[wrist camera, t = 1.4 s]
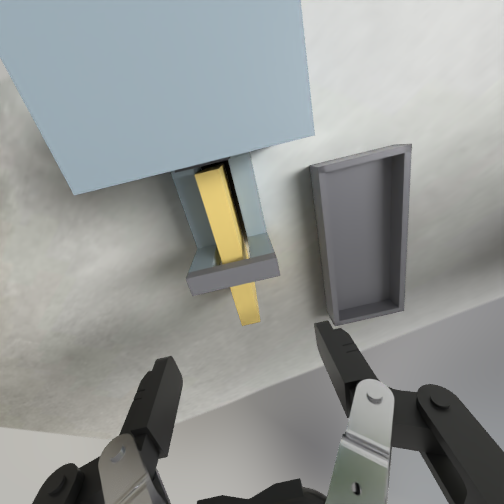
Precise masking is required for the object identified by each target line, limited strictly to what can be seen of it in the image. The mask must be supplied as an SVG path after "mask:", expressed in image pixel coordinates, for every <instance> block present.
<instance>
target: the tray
mask: <svg viewBox="0 0 504 504" xmlns="http://www.w3.org/2000/svg"><path fill="white" fill-rule="evenodd" d="M411 151H412V144H400V145H391V146H387V147H383V148H379V149H375V150H371V151H367V152H363V153H359V154H354V155H350V156H346V157H342V158H338V159H334V160H330V161H326V162H322V163H318V164H314V165H310V172H311V180H312V188H313V197H314V205H315V214H316V222H317V230H318V239H319V247H320V255H321V264H322V272H323V281H324V289H325V297H326V306H327V313H328V315H329V317H330V318H331V320H332V322H333V324H334V325H335V326H338V325H343V324H347V323H351V322H356V321H360V320H365V319H369V318H374V317H378V316H383V315H387V314H392V313H396V312H400V311H404V297H405V276H406V255H407V234H408V213H409V192H410V171H411Z"/></svg>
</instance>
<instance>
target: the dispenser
mask: <svg viewBox="0 0 504 504" xmlns="http://www.w3.org/2000/svg"><path fill="white" fill-rule="evenodd" d="M0 58H1V60H2V62H3V63H4V65H5V67H6V69H7V71H8V73H9V75H10V77H11V79H12V80H13V82H14V84H15V86H16V88H17V90H18V92H19V93H20V95H21V97H22V99H23V101H24V103H25V105H26V107H27V108H28V110H29V112H30V114H31V116H32V118H33V120H34V121H35V123H36V125H37V127H38V129H39V131H40V133H41V135H42V136H43V138H44V140H45V142H46V144H47V146H48V148H49V149H50V151H51V153H52V155H53V157H54V159H55V161H56V162H57V164H58V166H59V168H60V170H61V172H62V174H63V176H64V177H65V179H66V181H67V183H68V185H69V187H70V189H71V190H72V192H73V194H74V195H78V194H82V193H86V192H90V191H94V190H98V189H102V188H106V187H110V186H114V185H118V184H122V183H126V182H130V181H134V180H138V179H142V178H146V177H150V176H154V175H158V174H162V173H166V172H171V175H172V178H173V181H174V183H175V186H176V189H177V192H178V195H179V198H180V200H181V203H182V206H183V209H184V212H185V215H186V217H187V220H188V223H189V226H190V229H191V231H192V234H193V237H194V240H195V243H196V246H197V248H198V249H197V252H196V254H195V257H194V259H193V262H192V264H191V267H190V270H189V272H188V275H187V277H186V281H187V284H188V286H189V289H190V291H191V294H192V296H195V295H199V294H203V293H208V292H212V291H216V290H221V289H225V288H229V287H233V286H238V285H242V284H246V283H251V282H255V281H259V280H264V279H268V278H272V277H276V276H280V271H279V267H278V262H277V257H276V255H275V252H274V250H273V247H272V244H271V242H270V239H269V237H268V234H267V231H266V226H265V222H264V217H263V212H262V208H261V203H260V198H259V194H258V189H257V184H256V180H255V175H254V170H253V166H252V161H251V156H250V151H254V150H258V149H262V148H266V147H270V146H274V145H278V144H282V143H286V142H290V141H294V140H298V139H302V138H306V137H310V136H314V135H315V132H314V123H313V113H312V104H311V94H310V85H309V75H308V66H307V56H306V47H305V37H304V28H303V19H302V9H301V0H0ZM225 160H228V162H229V166H230V170H231V174H232V178H233V182H234V186H235V190H236V194H237V197H238V201H239V205H240V209H241V213H242V217H243V221H244V225H245V229H246V233H247V237H248V244H249V252H250V258H248V259H244V260H240V261H235V262H231V263H227V264H223V265H220V262H221V257H220V254H219V251H218V248H217V245H216V241H215V238H214V235H213V232H212V229H211V226H210V222H209V219H208V216H207V213H206V210H205V207H204V203H203V200H202V197H201V194H200V191H199V187H198V184H197V181H196V178H195V174H197V173H198V172H200V171H202V170H201V166H205V165H209V164H213V163H217V162H221V161H225Z"/></svg>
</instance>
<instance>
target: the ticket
mask: <svg viewBox="0 0 504 504" xmlns="http://www.w3.org/2000/svg"><path fill="white" fill-rule="evenodd" d="M195 178H196V181H197V184H198V187H199V191H200V194H201V197H202V200H203V203H204V207H205V210H206V213H207V216H208V219H209V222H210V226H211V229H212V232H213V235H214V238H215V241H216V245H217V248H218V251H219V254H220V257H221V260H222V264H227V263H231V262H235V261H240V260H244V259H248V258H249V257H248V253H247V249H246V245H245V242H244V238H243V234H242V230H241V226H240V222H239V218H238V215H237V211H236V207H235V203H234V199H233V195H232V192H231V188H230V184H229V180H228V176H227V172H226V169H225V165H224V164H220V165H216V166H212V167H208V168H206V169H204V170H202V171H200V172H198V173H197V174H195ZM230 289H231V292H232V295H233V299H234V302H235V305H236V308H237V311H238V314H239V318H240V321H241V324H242V326H244V325H249V324H253V323H257V322H260V315H259V308H258V301H257V295H256V288H255V282H251V283H246V284H242V285H238V286H233V287H230Z"/></svg>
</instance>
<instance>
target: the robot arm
mask: <svg viewBox="0 0 504 504" xmlns="http://www.w3.org/2000/svg"><path fill="white" fill-rule="evenodd" d="M314 327H315V334H316V341H317V346H318V350H319V353H320V356H321V358H322V360H323V363H324V365H325V367H326V369H327V372H328V374H329V377H330V379H331V381H332V384H333V386H334V388H335V391H336V393H337V395H338V397H339V400H340V402H341V404H342V407H343V409H344V411H345V414H346V416H347V418H349V421H348V426H347V429H346V432H345V434H343V436H342V438H341V441H340V445H339V449H338V453H337V457H336V461H335V465H334V470H333V474H332V478H331V482H330V486H329V490H328V494H327V496H325V495H324V494H322V493H320V492H318V491H316V490H313V489H310V488H305V487H302V484H301V480H300V479H295V480H290V481H286V482H281V483H276V484H274V485H272V486H270V487H269V488H267V489H265V490H264V491H262V492H260V493H259V494H257V495H255V496H254V497H252V498H250V499H242V498H236V497H230V496H223V495H222V496H217V497H213V498H208V499H203V500H199V501H197V504H387V499H388V487H389V476H390V465H391V453H392V447H397V448H403V449H409V450H414V451H419V452H420V453H421V455H422V457H423V459H424V460H425V462H426V464H427V466H428V468H429V469H430V471H431V473H432V475H433V476H434V478H435V480H436V482H437V483H438V485H439V487H440V489H441V490H442V492H443V494H444V496H445V497H446V499H447V501H448V502H449V504H504V452H503V451H502V449H501V448H500V447H499V446H498V445H497V444H496V442H495V441H494V440H493V439H492V438H491V436H490V435H489V434H488V433H487V432H486V430H485V429H484V428H483V427H482V426H481V424H480V423H479V422H478V421H477V420H476V419H475V417H474V416H473V415H472V414H471V413H470V412H469V410H468V409H467V408H466V407H465V406H464V404H463V403H462V402H461V401H460V400H459V398H458V397H457V396H456V395H454V394H453V393H452V392H450V391H449V390H447V389H446V388H443V387H441V386H438V385H433V384H428V385H423V386H422V387H420V388H419V389H418V392H409V391H400V390H395V389H392V388H390V387H388V386H386V385H385V384H384V383H382V382H380V381H379V380H378V379H377V377H376V376H375V374H374V373H373V371H372V370H371V368H370V366H369V365H368V363H367V362H366V360H365V359H364V357H363V355H362V354H361V352H360V351H359V350H358V348H357V346H356V344H354V341H353V340H352V338H351V337H350V335H349V334H348V333H347V332H345V331H344V330H343V329H341V328H338V329H334V330H333V328H332V326H331V324H330V323H329V321H328V320H327V321H323V322H319V323H314ZM182 385H183V380H182V375H181V373H180V371H179V369H178V367H177V365H176V363H175V361H174V359H173V357H172V356H169V357H164V358H160V359H157V360H156V361H155V364H154V367H153V369H152V371H149V372H147V374H146V375H145V376H144V378H143V379H142V380H141V382H140V385H139V387H138V390H137V393H136V395H135V397H134V401H133V402H132V405H131V407H130V410H129V412H128V415H127V417H126V420H125V422H124V425H123V427H122V430H121V432H120V434H119V436H117V437H116V438H114V439H113V440H112V441H111V442H110V443H109V444H108V445H107V446H106V447H105V449H104V450H103V452H102V454H101V456H100V457H98V458H96V459H94V460H93V461H91V462H89V463H88V464H86V465H84V466H82V467H80V468H78V467H77V466H76V465H75V464H73V463H69V464H66V465H63V466H62V467H60V468H59V469H57V470H56V471H55V472H54V473H52V474H51V475H50V476H49V478H48V479H47V480H46V481H45V483H44V484H43V485H42V487H41V488H40V490H39V492H38V494H37V496H36V498H35V499H34V502H33V503H32V504H171V503H170V500H169V498H168V495H167V493H166V490H165V488H164V485H163V483H162V480H161V478H160V475H159V473H158V470H157V469H156V466H157V462H158V459H160V458H165V457H167V456H168V451H169V446H170V441H171V437H172V433H173V428H174V423H175V419H176V414H177V409H178V405H179V400H180V395H181V391H182Z"/></svg>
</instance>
